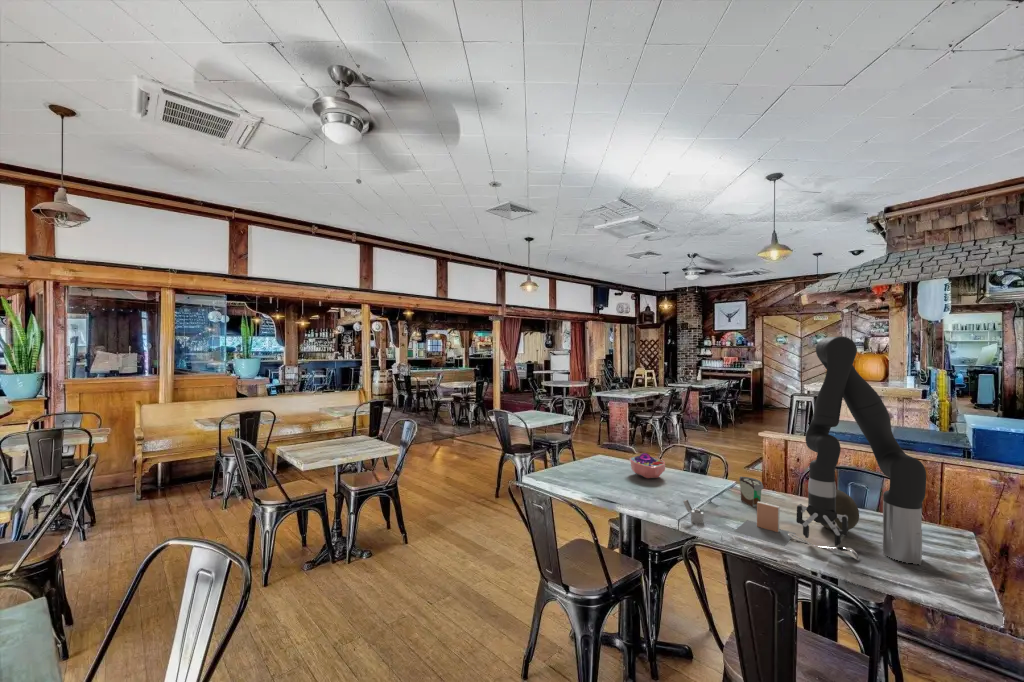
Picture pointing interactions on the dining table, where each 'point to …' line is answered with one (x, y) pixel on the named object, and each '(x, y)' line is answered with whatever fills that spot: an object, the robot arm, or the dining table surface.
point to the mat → (764, 533)
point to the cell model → (647, 466)
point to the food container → (750, 490)
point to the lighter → (694, 513)
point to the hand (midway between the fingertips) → (821, 541)
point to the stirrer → (843, 549)
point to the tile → (768, 516)
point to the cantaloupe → (845, 510)
